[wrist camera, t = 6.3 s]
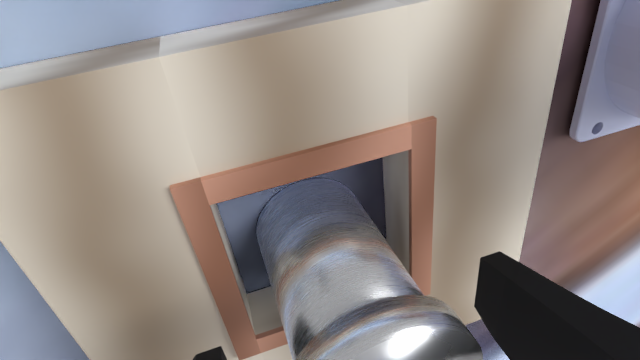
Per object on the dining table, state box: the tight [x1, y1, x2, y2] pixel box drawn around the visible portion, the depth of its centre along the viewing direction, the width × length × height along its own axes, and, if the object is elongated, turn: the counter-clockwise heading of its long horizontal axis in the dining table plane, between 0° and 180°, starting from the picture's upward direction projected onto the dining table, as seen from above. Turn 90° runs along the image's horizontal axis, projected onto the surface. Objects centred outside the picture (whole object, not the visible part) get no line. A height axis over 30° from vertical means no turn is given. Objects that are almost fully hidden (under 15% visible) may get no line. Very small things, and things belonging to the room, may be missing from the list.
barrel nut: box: [256, 178, 483, 360], centre depth 13 cm, size 5×5×7 cm
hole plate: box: [0, 0, 572, 360], centre depth 14 cm, size 16×14×2 cm
